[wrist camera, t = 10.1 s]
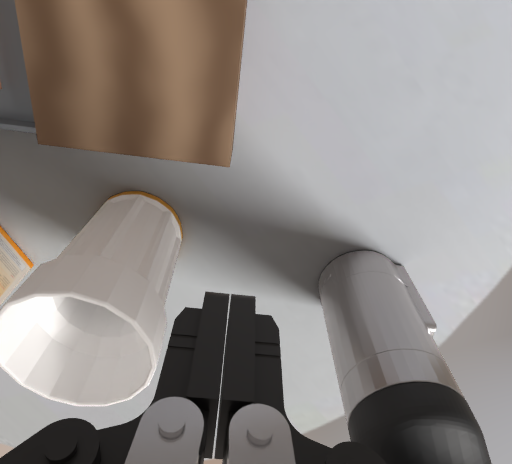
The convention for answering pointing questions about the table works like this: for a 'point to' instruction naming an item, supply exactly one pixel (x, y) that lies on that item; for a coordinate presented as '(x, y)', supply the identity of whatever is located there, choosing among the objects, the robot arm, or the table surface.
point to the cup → (96, 307)
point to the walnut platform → (135, 75)
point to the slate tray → (13, 74)
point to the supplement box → (11, 265)
